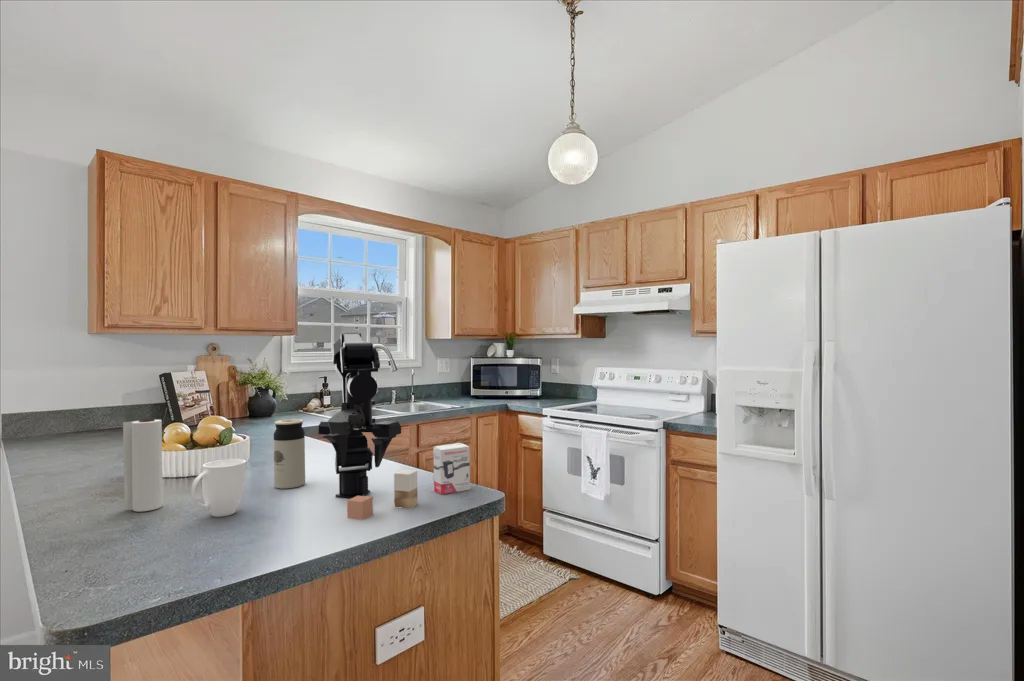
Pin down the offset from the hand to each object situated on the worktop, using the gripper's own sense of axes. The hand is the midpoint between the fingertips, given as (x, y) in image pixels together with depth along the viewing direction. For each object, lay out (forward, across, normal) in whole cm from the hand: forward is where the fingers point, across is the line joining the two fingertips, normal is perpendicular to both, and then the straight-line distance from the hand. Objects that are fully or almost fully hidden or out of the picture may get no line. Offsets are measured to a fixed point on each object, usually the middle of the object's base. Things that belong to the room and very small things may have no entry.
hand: (359, 465), depth 121 cm
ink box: (+12, +11, +25) cm, 30 cm away
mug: (+12, -32, -9) cm, 35 cm away
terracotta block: (+11, 0, 0) cm, 11 cm away
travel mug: (+12, -35, +17) cm, 41 cm away
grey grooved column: (+12, -54, -10) cm, 56 cm away
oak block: (+11, +6, +10) cm, 16 cm away
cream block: (+7, +6, +10) cm, 14 cm away
